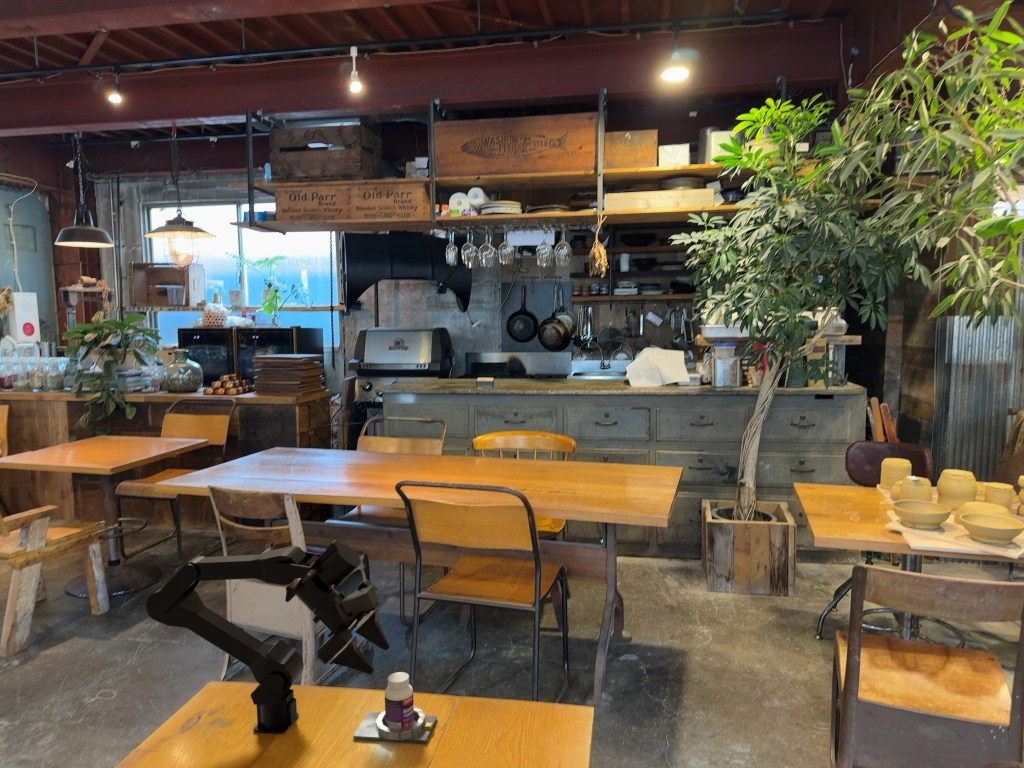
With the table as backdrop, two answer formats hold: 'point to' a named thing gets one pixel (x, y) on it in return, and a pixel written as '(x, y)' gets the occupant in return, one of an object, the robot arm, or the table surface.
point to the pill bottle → (399, 702)
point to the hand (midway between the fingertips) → (380, 660)
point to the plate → (369, 730)
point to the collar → (402, 733)
